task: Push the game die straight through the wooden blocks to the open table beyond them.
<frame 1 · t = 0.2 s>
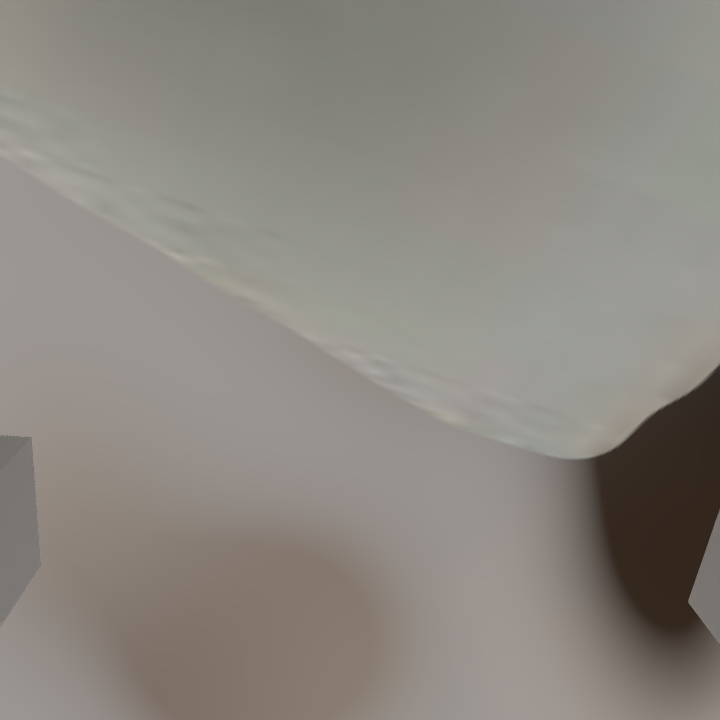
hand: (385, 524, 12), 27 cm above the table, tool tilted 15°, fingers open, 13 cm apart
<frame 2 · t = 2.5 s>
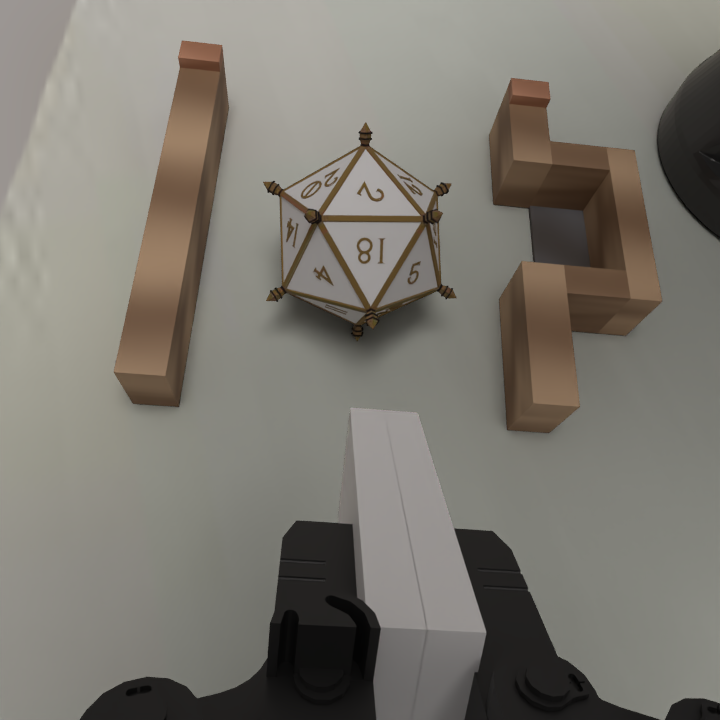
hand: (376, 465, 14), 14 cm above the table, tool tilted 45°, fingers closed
game die: (352, 289, 32), on the table
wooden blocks: (354, 253, 33), on the table
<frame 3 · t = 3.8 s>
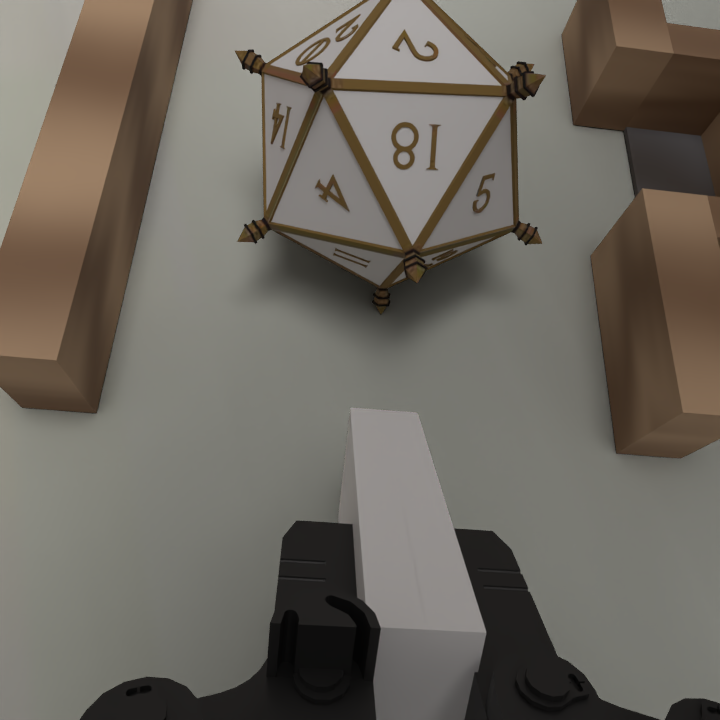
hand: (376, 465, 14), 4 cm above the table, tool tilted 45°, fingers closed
game die: (372, 238, 22), on the table
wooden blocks: (375, 186, 22), on the table
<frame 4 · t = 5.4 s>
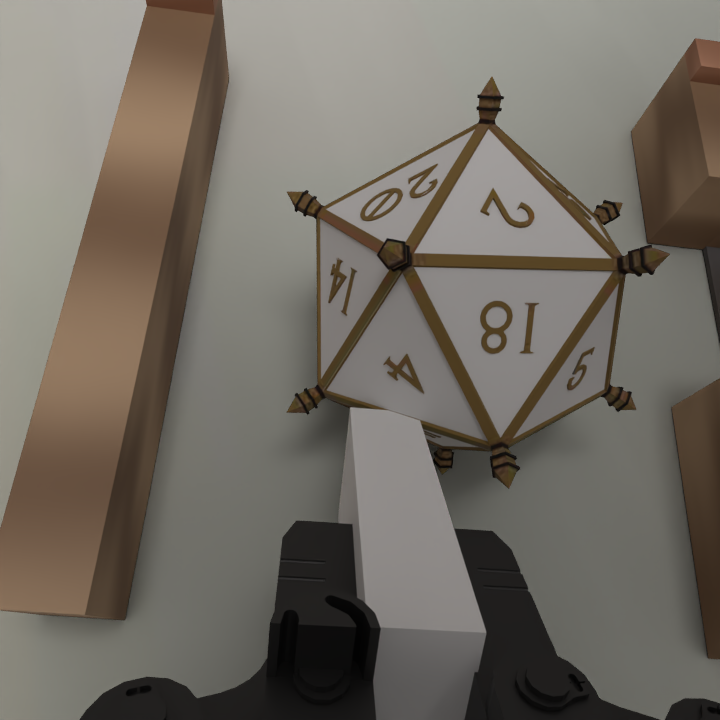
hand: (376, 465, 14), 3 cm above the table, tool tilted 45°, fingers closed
game die: (429, 378, 19), on the table, touching gripper
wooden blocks: (431, 323, 20), on the table
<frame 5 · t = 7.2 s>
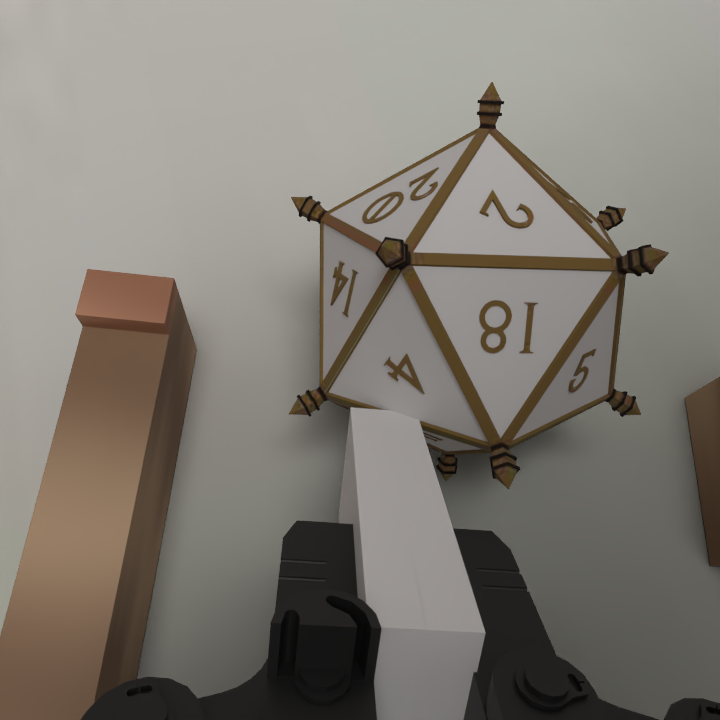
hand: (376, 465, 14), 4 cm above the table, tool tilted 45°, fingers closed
game die: (433, 385, 19), on the table, touching gripper
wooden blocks: (444, 711, 16), on the table
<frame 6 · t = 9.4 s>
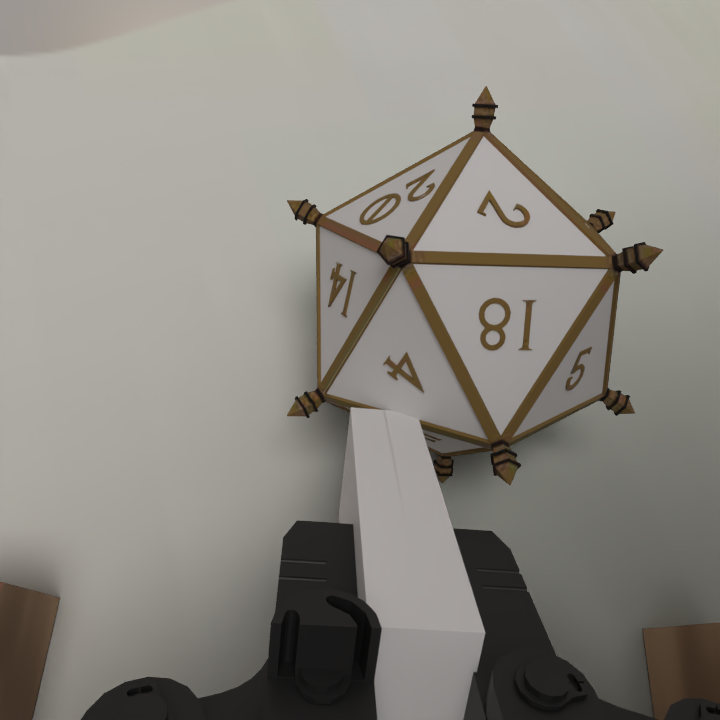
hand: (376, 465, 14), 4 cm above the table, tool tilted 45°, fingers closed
game die: (427, 389, 19), on the table, touching gripper
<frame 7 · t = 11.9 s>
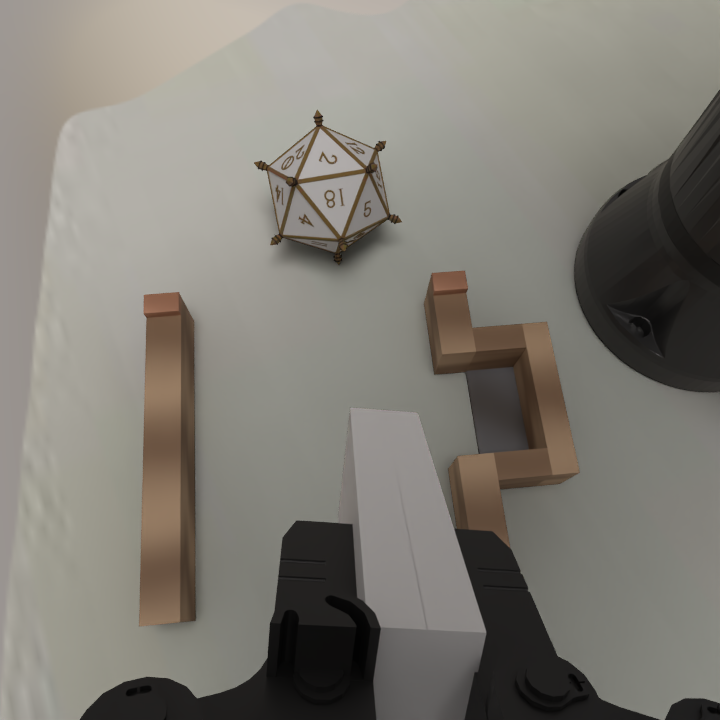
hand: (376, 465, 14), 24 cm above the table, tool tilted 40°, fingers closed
game die: (330, 228, 44), on the table
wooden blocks: (320, 447, 39), on the table
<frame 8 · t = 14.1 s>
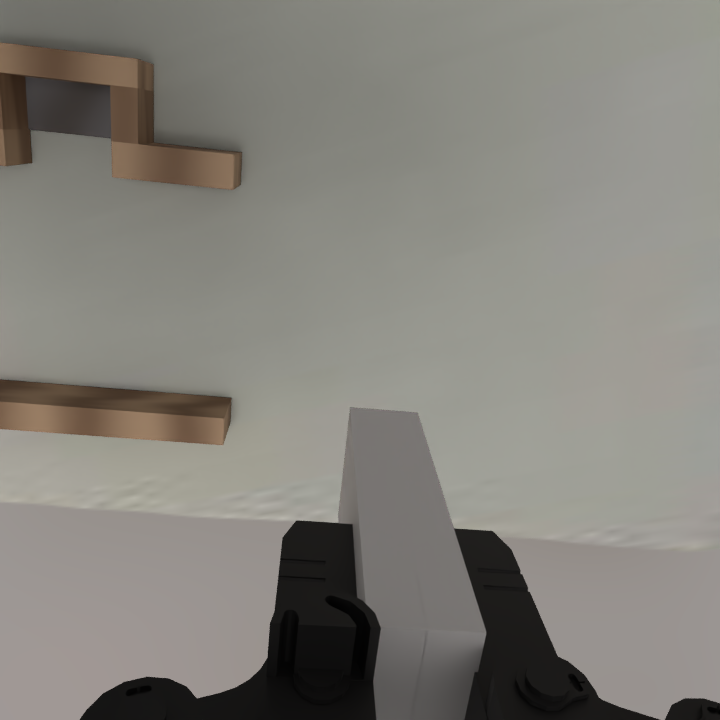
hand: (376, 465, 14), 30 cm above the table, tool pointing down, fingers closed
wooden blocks: (100, 285, 43), on the table
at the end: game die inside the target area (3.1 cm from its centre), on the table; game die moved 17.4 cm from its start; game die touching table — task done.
